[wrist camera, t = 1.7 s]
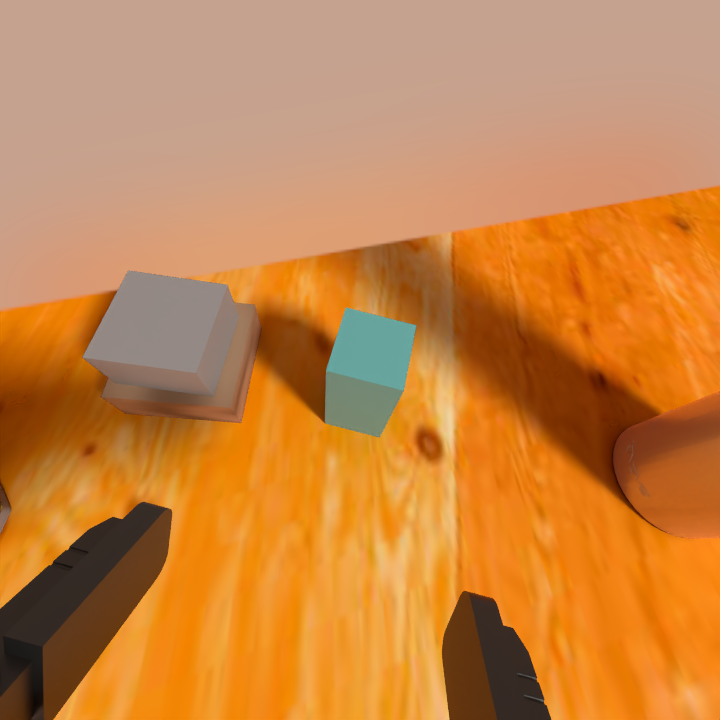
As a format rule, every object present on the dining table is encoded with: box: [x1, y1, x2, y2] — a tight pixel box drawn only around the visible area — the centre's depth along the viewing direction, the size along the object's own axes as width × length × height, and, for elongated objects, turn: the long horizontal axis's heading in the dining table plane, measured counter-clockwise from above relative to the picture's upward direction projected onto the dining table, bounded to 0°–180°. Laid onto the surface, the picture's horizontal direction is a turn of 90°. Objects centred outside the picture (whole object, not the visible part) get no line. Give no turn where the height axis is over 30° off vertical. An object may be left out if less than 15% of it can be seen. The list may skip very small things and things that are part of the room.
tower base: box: [101, 303, 261, 423], centre depth 30 cm, size 9×9×4 cm
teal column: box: [325, 308, 416, 437], centre depth 26 cm, size 5×5×10 cm
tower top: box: [82, 271, 239, 396], centre depth 26 cm, size 7×7×4 cm
